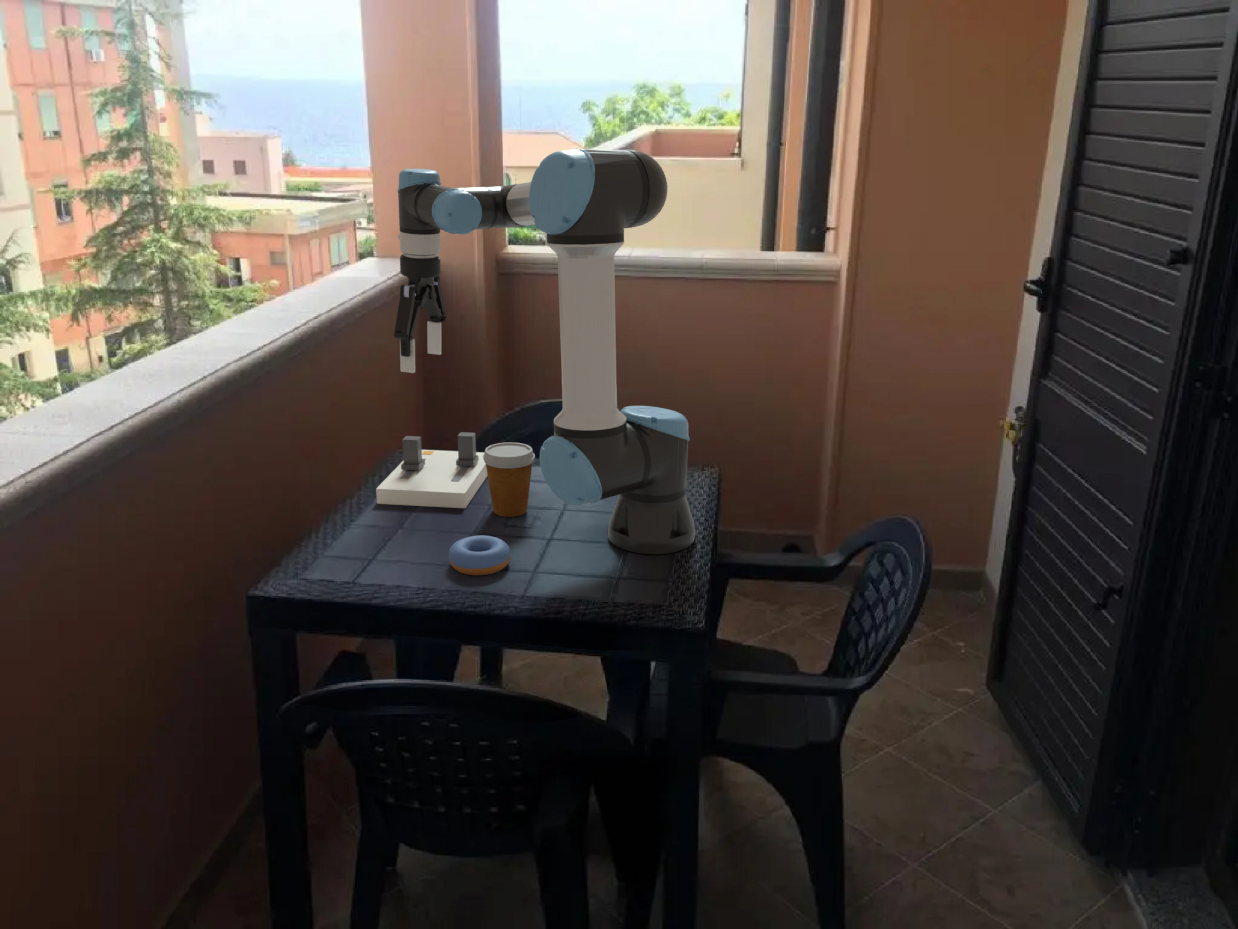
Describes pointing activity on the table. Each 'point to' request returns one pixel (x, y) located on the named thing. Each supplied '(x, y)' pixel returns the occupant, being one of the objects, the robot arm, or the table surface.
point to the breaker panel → (434, 482)
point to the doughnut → (479, 555)
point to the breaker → (466, 450)
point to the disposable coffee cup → (509, 477)
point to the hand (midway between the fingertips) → (421, 362)
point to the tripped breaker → (412, 453)
